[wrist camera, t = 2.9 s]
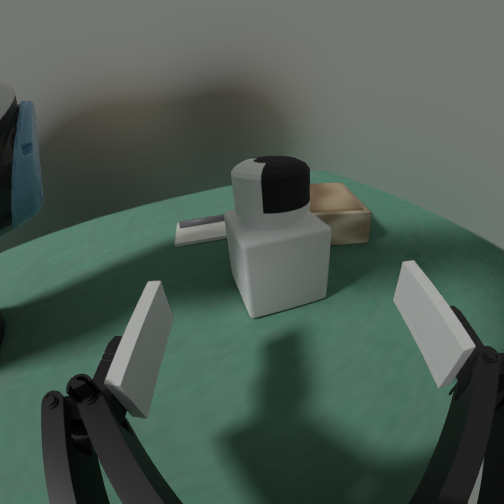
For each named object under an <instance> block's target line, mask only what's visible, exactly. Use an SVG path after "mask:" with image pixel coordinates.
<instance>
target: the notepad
mask: <svg viewBox="0 0 504 504" xmlns="http://www.w3.org/2000/svg"><path fill="white" fill-rule="evenodd" d="M221 239H227V235H226V228H225V220H224V215H217V216H211V217H205V218H199V219H193V220H187V221H181V222H179V223H178V224H177V231H176V238H175V247H179V246H185V245H191V244H197V243H203V242H209V241H214V240H221Z"/></svg>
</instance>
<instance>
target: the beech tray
mask: <svg viewBox="0 0 504 504" xmlns="http://www.w3.org/2000/svg"><path fill="white" fill-rule="evenodd" d="M309 211H310V212H311V213H313V214H314V215H315V216H317V217H318V218H319V219H320V220H322V221H323V222H324V223H326V224H327V225H328V226H329V227H330V228H331V243H330V245H343V244H357V243H368V240H369V232H370V224H371V214H372V212H371V211H370V210H369V209H368V208H367V207H366V206H365V205H364V204H363V203H362V202H361V201H360V200H359V199H358V198H357V197H356V196H355V195H354V194H353V193H352V192H351V191H350V190H349V189H348V188H347V187H346V186H344V185H343V184H342V183H323V184H310V210H309Z"/></svg>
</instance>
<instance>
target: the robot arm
mask: <svg viewBox="0 0 504 504" xmlns="http://www.w3.org/2000/svg"><path fill="white" fill-rule="evenodd" d="M37 140H38V139H37V127H36V117H35V110H34V104H33V102H31V101H27V102H25V101H22V102H21V103H20V104H19V105H18V104H17V101H16V96H15V91H14V89H13V87H12V86H11V85H9V84H6V83H3V82H0V236H1V235H3V234H5V233H7V232H9V231H11V230H15V229H16V228H17V226H19V225H20V224H22V223H24V222H26V221H27V220H29V219H31V218H33V217H34V216H35V215H36V214H37V213H38V212H39V211H40V209H41V207H42V203H43V188H42V179H41V169H40V160H39V152H38V151H39V150H38V141H37ZM393 301H394V303H395V304H396V306H397V308H398V310H399V311H400V313H401V315H402V317H403V319H404V320H405V322H406V324H407V326H408V328H409V330H410V331H411V333H412V335H413V337H414V339H415V341H416V343H417V345H418V347H419V349H420V351H421V353H422V355H423V357H424V359H425V361H426V363H427V365H428V367H429V369H430V371H431V373H432V376H433V378H434V380H435V382H436V384H437V387H438V388H441V387H444V386H446V385H449V384H451V382H452V381H453V379H454V378H455V377H456V378H457V380H458V382H457V383H456V384H455V386H454V387H453V388H452V390H451V391H450V393H449V395H451V394H452V392H453V391H454V393H453V397H452V401H451V404H450V408H449V411H448V414H447V417H446V421H445V424H444V427H443V430H442V432H441V435H440V438H439V441H438V443H437V446H436V448H435V451H434V453H433V456H432V458H431V461H430V463H429V465H428V467H427V470H426V472H425V474H424V476H423V478H422V480H421V482H420V484H419V486H418V488H417V490H416V492H415V494H414V496H413V497H412V499H411V501H410V503H409V504H468V499H469V497H470V495H471V492H472V490H473V487H474V485H475V482H476V479H477V476H478V473H479V470H480V467H481V464H482V461H483V457H484V465H483V473H482V480H481V486H480V491H479V497H478V501H477V504H504V353H497V351H496V350H495V349H494V348H492V347H490V346H484V345H483V344H482V342H481V341H480V339H479V337H478V336H477V334H476V333H475V331H474V330H473V328H472V327H471V326H470V324H469V323H468V321H467V320H466V318H465V317H464V315H463V314H462V313H461V311H460V310H458V309H457V308H456V307H454V306H450V307H449V305H448V304H447V303H446V301H445V300H444V298H443V297H442V296H441V294H440V293H439V292H438V290H437V289H436V288H435V286H434V285H433V284H432V283H431V281H430V280H429V279H428V277H427V276H426V275H425V274H424V272H423V271H422V270H421V269H420V267H419V266H418V265H417V264H416V263H415V261H414V260H413V261H404V262H403V263H402V267H401V271H400V275H399V280H398V283H397V287H396V291H395V295H394V298H393ZM173 320H174V318H173V315H172V312H171V309H170V306H169V303H168V301H167V298H166V295H165V292H164V289H163V286H162V283H161V281H148V283H147V285H146V287H145V289H144V291H143V293H142V295H141V297H140V299H139V301H138V304H137V306H136V308H135V310H134V312H133V314H132V317H131V319H130V321H129V323H128V325H127V328H126V330H125V332H124V335H123V336H115V337H114V338H113V339H112V340H111V341H110V342H109V343H108V345H107V347H106V350H105V354H103V356H102V360H101V361H100V363H99V366H98V368H97V371H96V373H95V375H94V378H93V380H92V379H91V378H90V377H89V376H88V375H86V374H78V375H75V376H74V377H72V378H71V379H70V381H69V382H68V384H67V387H66V392H67V394H68V395H69V396H65V397H64V396H63V395H62V394H61V393H60V392H58V391H50V392H48V393H47V394H46V395H45V396H44V398H43V399H42V404H41V429H42V450H43V461H44V471H45V478H46V485H47V491H48V496H49V502H50V504H110V503H109V500H108V496H107V493H106V489H105V486H104V482H103V478H102V474H101V470H100V465H99V461H98V458H99V460H100V463H101V465H102V467H103V469H104V471H105V473H106V475H107V477H108V479H109V480H110V482H111V484H112V486H113V488H114V490H115V491H116V493H117V495H118V497H119V498H120V500H121V502H122V503H123V504H183V503H182V502H181V501H180V499H179V498H178V497H177V496H176V494H175V493H174V492H173V490H172V489H171V488H170V486H169V485H168V484H167V482H166V481H165V480H164V478H163V477H162V475H161V474H160V472H159V471H158V469H157V468H156V467H155V465H154V464H153V462H152V460H151V459H150V457H149V456H148V454H147V453H146V451H145V449H144V448H143V446H142V445H141V443H140V441H139V439H138V438H137V436H136V434H135V433H134V431H133V429H132V427H131V425H130V424H129V422H128V420H127V419H126V418H125V416H126V412H127V411H128V412H129V413H130V415H131V416H133V417H139V418H146V419H147V417H148V413H149V409H150V405H151V401H152V397H153V392H154V388H155V385H156V381H157V377H158V373H159V369H160V365H161V362H162V358H163V354H164V351H165V347H166V344H167V340H168V337H169V333H170V330H171V326H172V323H173ZM3 332H4V319H3V316H2V315H1V313H0V342H1V339H2V336H3ZM484 454H485V455H484Z"/></svg>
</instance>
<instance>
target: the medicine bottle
mask: <svg viewBox="0 0 504 504" xmlns="http://www.w3.org/2000/svg"><path fill="white" fill-rule="evenodd" d="M231 176H232V185H233V194H234V203H235V210H232V211H227V212H225V213H224V220H225V228H226V235H227V242H228V249H229V256H230V262H231V269H232V275H233V277H234V280H235V282H236V285H237V287H238V289H239V292H240V294H241V296H242V299H243V301H244V304H245V306H246V308H247V311H248V313H249V315H250V317H251V318H257V317H261V316H265V315H269V314H272V313H276V312H279V311H283V310H287V309H290V308H294V307H297V306H300V305H304V304H307V303H310V302H314V301H317V300H320V299H323V298H325V297H326V292H327V282H328V270H329V257H330V243H331V228H330V227H329V226H328V225H327V224H326V223H324V222H323V221H322V220H320V219H319V218H318V217H317V216H315V215H314V214H313V213H311V212H310V211H309V210H310V168H309V167H308V166H307V164H306V163H305V162H303V161H300V160H298V159H296V158H293V157H287V156H265V157H256V158H252V159H248V160H245V161H243V162H241V163H240V164H238V165H236V166H235V167H234V169H233V170H232V172H231Z"/></svg>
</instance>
